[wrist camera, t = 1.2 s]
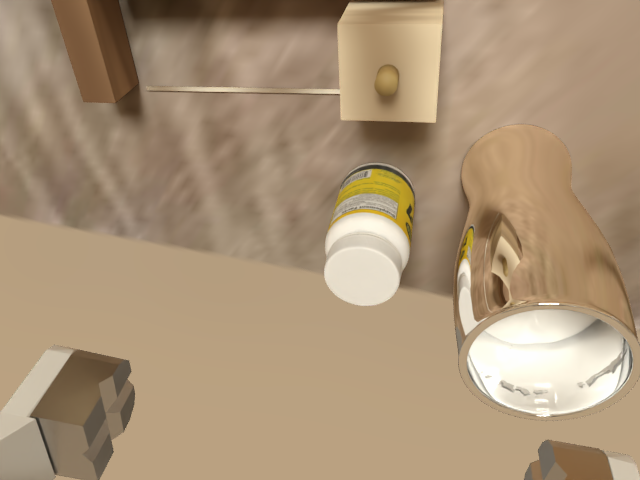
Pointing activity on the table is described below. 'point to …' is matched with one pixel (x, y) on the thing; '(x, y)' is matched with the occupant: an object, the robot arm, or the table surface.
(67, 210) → the table surface
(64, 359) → the robot arm
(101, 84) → the fence board
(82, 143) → the table surface
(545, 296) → the beer glass
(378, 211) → the supplement bottle
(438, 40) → the block
